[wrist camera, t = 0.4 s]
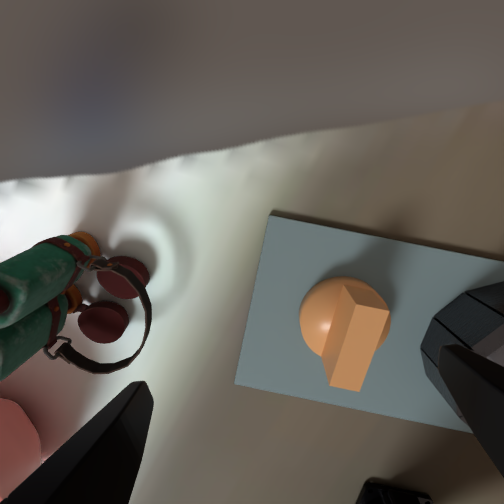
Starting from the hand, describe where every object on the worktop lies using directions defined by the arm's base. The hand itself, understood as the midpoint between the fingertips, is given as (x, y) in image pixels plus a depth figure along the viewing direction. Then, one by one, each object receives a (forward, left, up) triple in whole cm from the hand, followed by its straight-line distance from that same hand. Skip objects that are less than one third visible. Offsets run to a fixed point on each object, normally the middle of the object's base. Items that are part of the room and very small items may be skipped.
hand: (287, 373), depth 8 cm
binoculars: (-6, +13, -13) cm, 19 cm away
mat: (-5, -11, -13) cm, 18 cm away
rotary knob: (-4, -6, -12) cm, 14 cm away
